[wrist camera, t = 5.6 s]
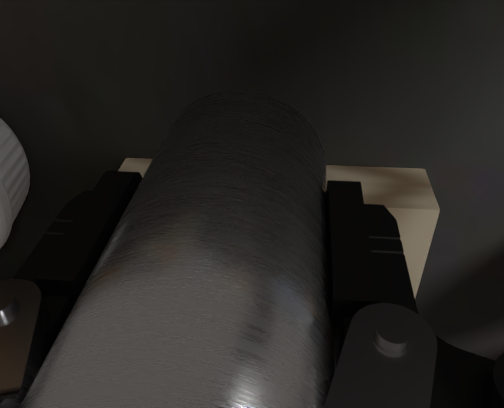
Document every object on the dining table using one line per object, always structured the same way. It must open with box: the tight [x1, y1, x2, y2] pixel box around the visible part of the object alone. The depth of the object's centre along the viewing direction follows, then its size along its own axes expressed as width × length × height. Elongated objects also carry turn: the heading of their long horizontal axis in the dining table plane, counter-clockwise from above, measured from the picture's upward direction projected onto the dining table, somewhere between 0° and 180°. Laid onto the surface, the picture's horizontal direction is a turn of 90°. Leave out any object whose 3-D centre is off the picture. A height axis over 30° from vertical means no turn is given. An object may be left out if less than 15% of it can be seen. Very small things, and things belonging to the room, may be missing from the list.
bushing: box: [19, 90, 335, 408], centre depth 9 cm, size 4×4×9 cm
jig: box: [118, 158, 440, 298], centre depth 30 cm, size 18×14×4 cm
